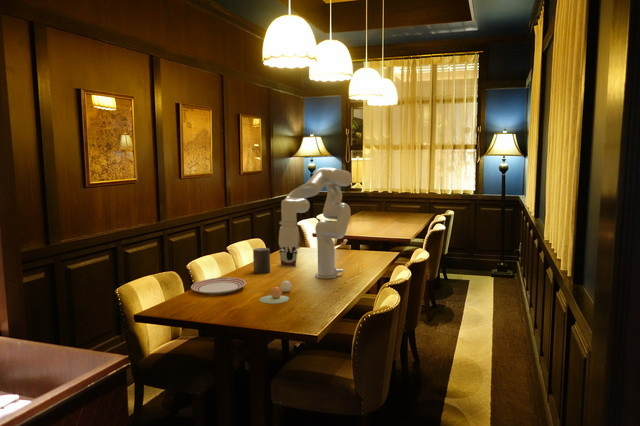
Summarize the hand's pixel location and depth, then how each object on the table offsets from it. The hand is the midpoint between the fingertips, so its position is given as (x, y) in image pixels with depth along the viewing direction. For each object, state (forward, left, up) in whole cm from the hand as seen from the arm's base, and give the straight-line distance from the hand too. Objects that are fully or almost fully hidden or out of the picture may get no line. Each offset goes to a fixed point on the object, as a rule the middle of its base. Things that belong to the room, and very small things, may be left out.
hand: (289, 259), depth 256 cm
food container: (-9, -56, -15) cm, 59 cm away
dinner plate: (+36, -9, -16) cm, 40 cm away
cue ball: (+3, +5, -12) cm, 14 cm away
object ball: (+9, +15, -12) cm, 22 cm away
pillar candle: (+10, -42, -15) cm, 46 cm away
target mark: (+11, +17, -15) cm, 25 cm away
